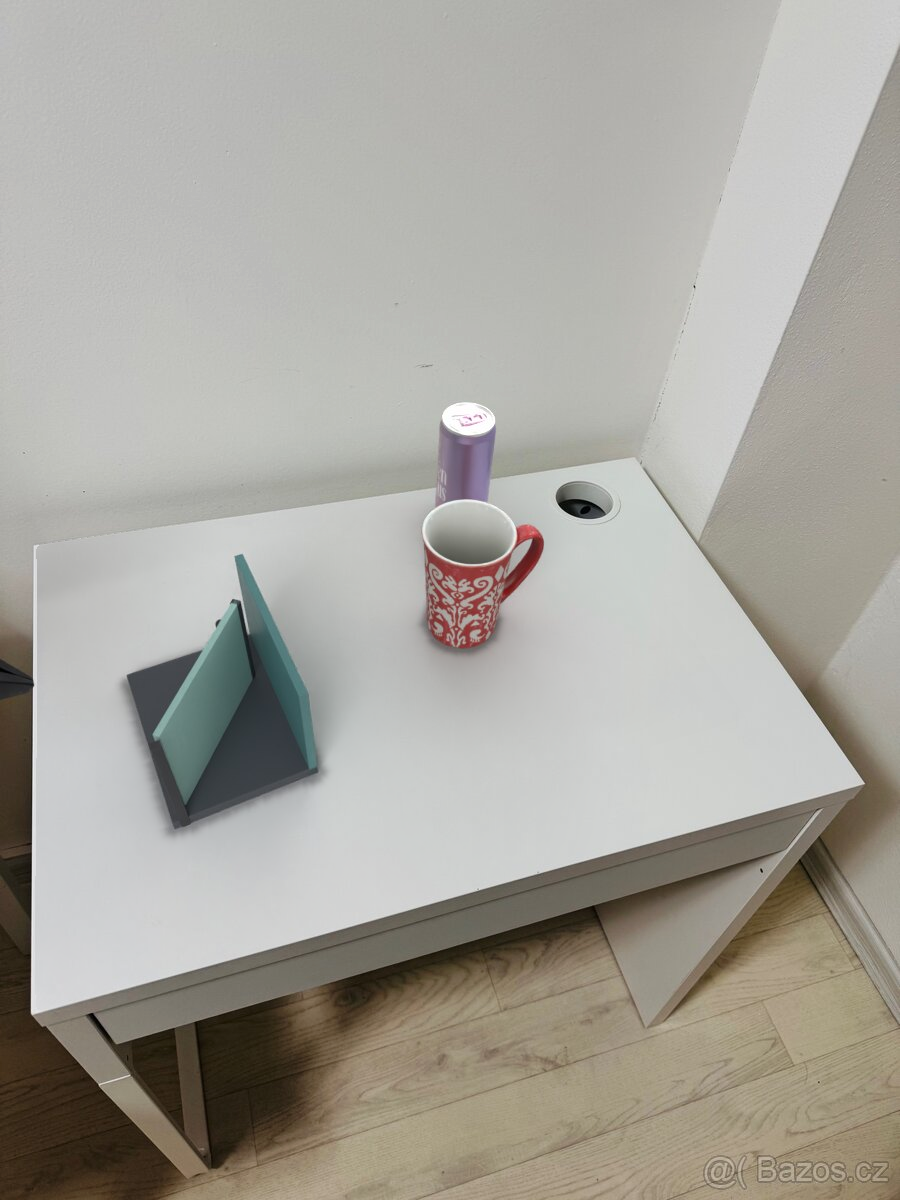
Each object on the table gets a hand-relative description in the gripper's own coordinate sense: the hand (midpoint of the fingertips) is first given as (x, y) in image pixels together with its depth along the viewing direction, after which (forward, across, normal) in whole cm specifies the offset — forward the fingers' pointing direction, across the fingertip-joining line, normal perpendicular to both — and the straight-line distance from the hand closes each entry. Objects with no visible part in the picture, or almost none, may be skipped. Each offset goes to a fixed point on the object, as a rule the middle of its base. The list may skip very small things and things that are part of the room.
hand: (31, 685), depth 68 cm
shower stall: (+17, -3, -2) cm, 17 cm away
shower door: (+15, -4, -2) cm, 16 cm away
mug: (+37, -1, -22) cm, 43 cm away
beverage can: (+40, +13, -25) cm, 49 cm away
